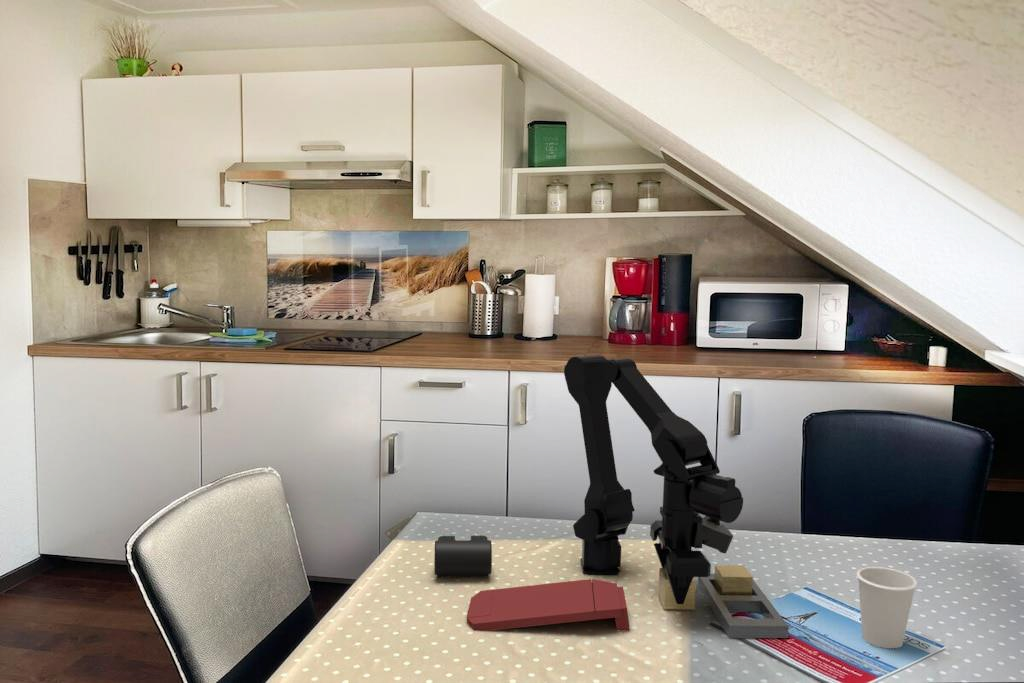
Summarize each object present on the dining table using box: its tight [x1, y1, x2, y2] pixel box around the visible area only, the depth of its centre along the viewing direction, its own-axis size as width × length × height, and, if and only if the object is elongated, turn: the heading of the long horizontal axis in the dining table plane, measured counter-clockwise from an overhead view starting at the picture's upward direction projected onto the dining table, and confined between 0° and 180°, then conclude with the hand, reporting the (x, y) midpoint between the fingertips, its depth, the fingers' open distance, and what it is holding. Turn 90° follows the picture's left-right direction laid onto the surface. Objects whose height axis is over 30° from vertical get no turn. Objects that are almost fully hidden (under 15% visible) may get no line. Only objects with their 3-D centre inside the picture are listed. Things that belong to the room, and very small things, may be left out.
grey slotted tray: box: [697, 573, 789, 640], centre depth 135 cm, size 9×20×2 cm, turn 1°
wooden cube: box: [658, 567, 697, 611], centre depth 137 cm, size 5×5×5 cm
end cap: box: [433, 534, 493, 578], centre depth 147 cm, size 10×7×7 cm
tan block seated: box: [714, 564, 754, 596], centre depth 139 cm, size 5×5×5 cm
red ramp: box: [465, 578, 631, 632], centre depth 132 cm, size 12×5×25 cm
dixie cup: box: [856, 566, 918, 650], centre depth 125 cm, size 8×8×10 cm
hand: (676, 596), depth 137 cm, fingers closed on wooden cube, 5 cm apart
